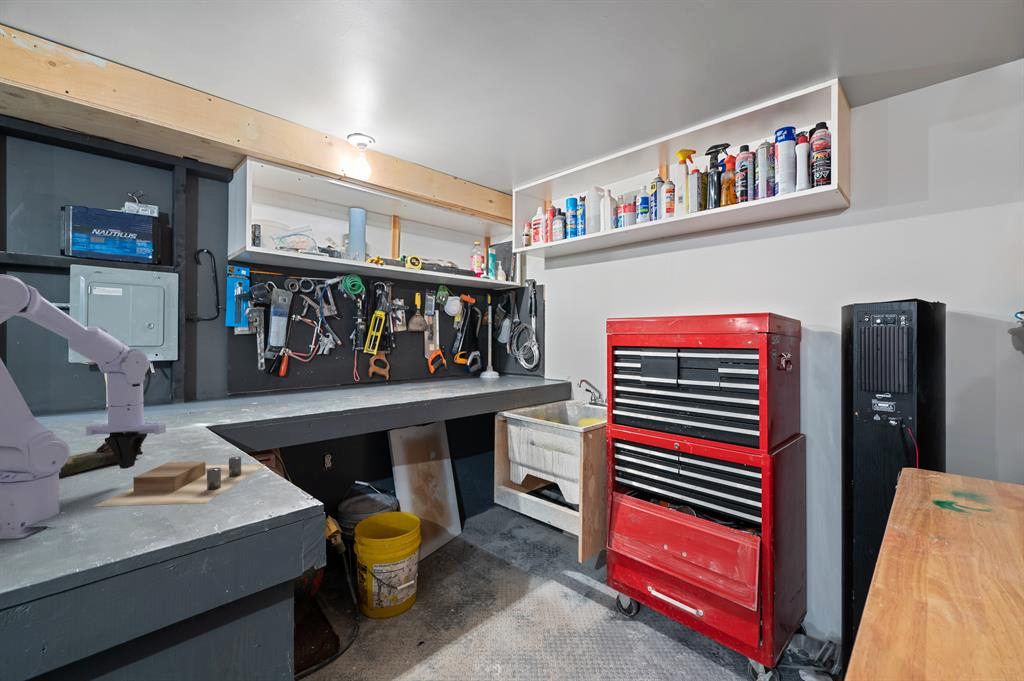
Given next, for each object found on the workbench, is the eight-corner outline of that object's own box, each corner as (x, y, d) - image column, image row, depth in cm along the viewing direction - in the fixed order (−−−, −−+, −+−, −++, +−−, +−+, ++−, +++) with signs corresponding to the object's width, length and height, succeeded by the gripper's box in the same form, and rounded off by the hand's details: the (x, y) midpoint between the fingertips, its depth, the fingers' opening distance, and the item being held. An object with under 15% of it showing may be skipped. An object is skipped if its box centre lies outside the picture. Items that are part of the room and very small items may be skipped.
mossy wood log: (56, 481, 99) (55, 457, 99) (41, 477, 101) (40, 454, 101) (145, 459, 115) (144, 438, 115) (130, 456, 118) (130, 436, 118)
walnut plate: (175, 490, 88) (175, 476, 88) (133, 492, 88) (133, 477, 87) (205, 474, 98) (205, 461, 98) (168, 475, 97) (168, 462, 97)
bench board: (205, 510, 82) (205, 482, 82) (92, 514, 80) (92, 485, 80) (265, 470, 106) (265, 448, 106) (180, 472, 104) (179, 449, 104)
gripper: (174, 400, 96) (176, 460, 97) (105, 401, 95) (106, 462, 95) (151, 406, 89) (152, 470, 90) (75, 407, 88) (77, 472, 88)
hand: (127, 467), depth 92 cm, fingers closed
